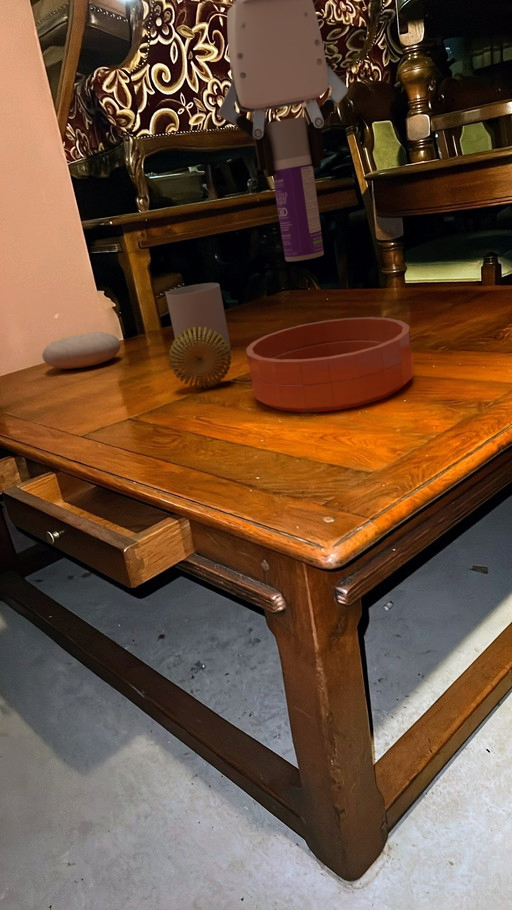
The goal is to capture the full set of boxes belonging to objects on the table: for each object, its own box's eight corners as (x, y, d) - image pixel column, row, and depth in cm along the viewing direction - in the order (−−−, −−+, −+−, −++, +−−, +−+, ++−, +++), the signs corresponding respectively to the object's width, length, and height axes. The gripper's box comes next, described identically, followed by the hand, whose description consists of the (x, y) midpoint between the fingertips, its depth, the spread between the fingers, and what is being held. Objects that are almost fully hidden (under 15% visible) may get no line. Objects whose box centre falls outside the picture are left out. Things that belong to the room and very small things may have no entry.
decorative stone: (38, 378, 111) (30, 348, 109) (57, 364, 119) (49, 335, 118) (115, 367, 110) (107, 336, 108) (128, 353, 118) (122, 324, 116)
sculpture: (236, 377, 92) (225, 318, 89) (236, 386, 88) (224, 324, 86) (177, 387, 93) (165, 328, 90) (174, 396, 89) (161, 335, 86)
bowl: (389, 355, 90) (385, 309, 88) (435, 395, 73) (431, 339, 71) (249, 380, 90) (241, 335, 88) (261, 427, 73) (252, 372, 71)
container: (278, 262, 83) (256, 125, 77) (297, 255, 86) (278, 123, 80) (312, 259, 80) (292, 117, 74) (331, 252, 83) (313, 115, 78)
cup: (203, 361, 104) (190, 295, 100) (167, 358, 109) (154, 295, 106) (241, 346, 109) (230, 282, 105) (206, 344, 115) (194, 283, 111)
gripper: (338, -17, 76) (357, 160, 83) (187, 10, 76) (218, 185, 83) (354, -38, 69) (373, 157, 76) (187, -8, 69) (221, 185, 76)
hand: (292, 170), depth 79 cm, fingers closed on container, 4 cm apart
